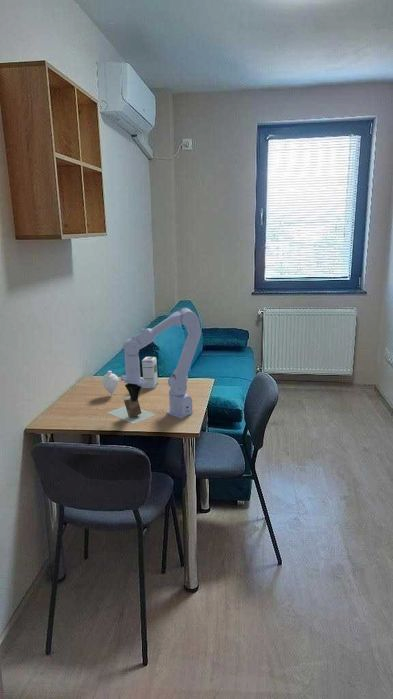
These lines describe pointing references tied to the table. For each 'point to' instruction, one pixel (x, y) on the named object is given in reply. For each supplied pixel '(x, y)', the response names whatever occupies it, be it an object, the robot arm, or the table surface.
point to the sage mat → (123, 415)
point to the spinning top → (110, 382)
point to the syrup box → (150, 371)
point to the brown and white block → (132, 407)
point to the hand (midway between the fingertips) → (134, 400)
